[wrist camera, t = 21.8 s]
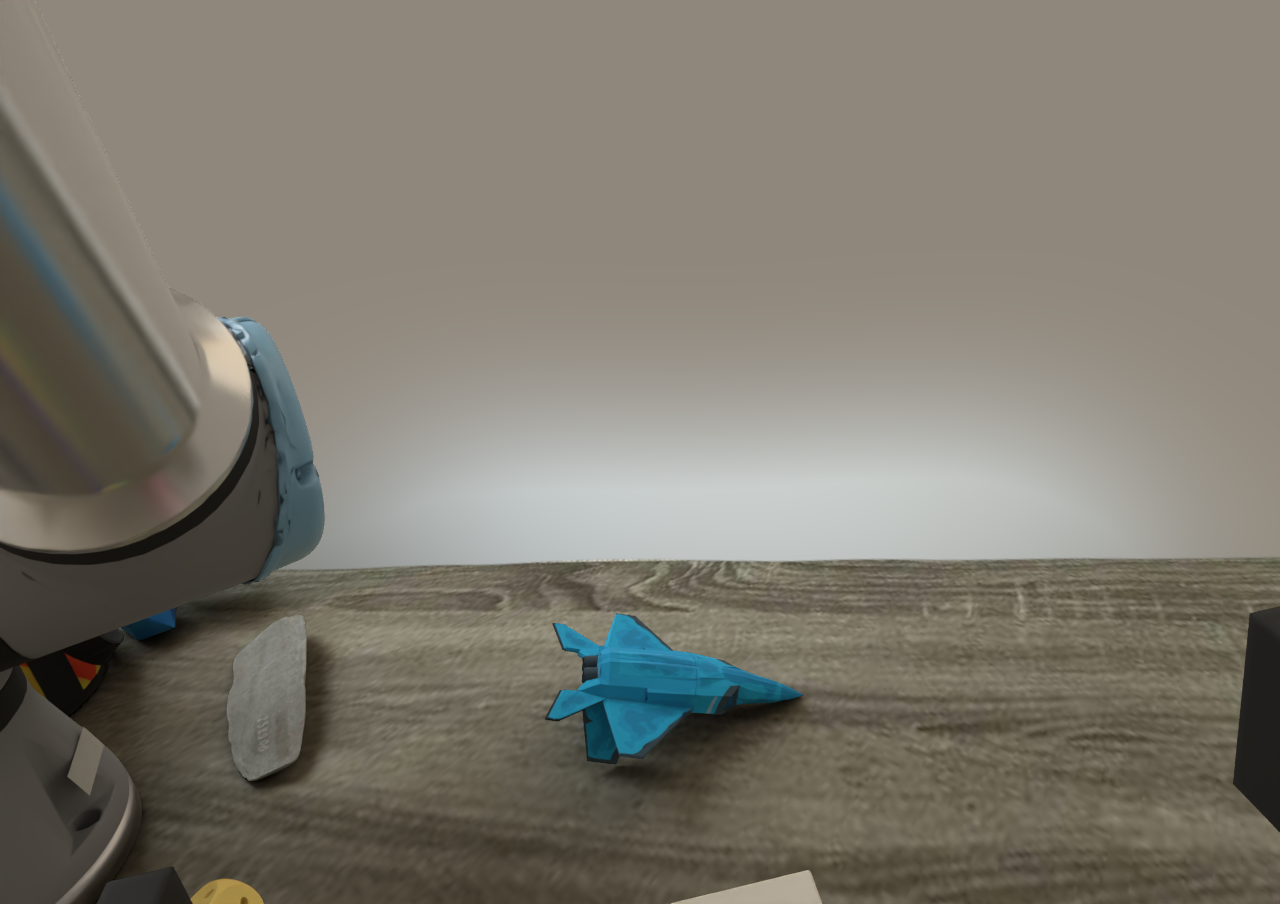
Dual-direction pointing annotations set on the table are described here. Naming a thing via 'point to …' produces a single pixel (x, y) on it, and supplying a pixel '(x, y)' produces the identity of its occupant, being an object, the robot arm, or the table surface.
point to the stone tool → (269, 700)
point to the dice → (226, 893)
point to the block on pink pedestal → (766, 892)
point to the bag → (72, 671)
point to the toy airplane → (648, 689)
